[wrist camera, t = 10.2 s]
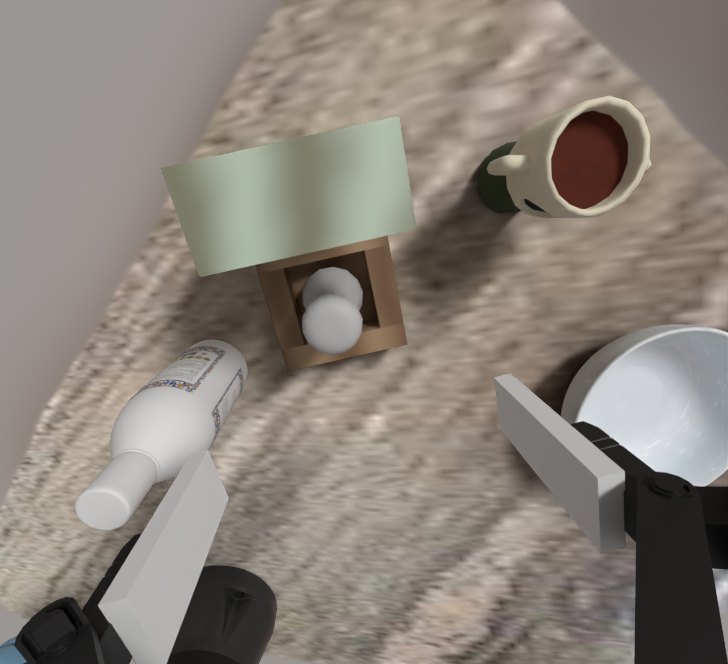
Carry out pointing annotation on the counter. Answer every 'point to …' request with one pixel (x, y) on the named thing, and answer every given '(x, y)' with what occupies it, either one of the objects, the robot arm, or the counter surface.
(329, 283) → the salt shaker
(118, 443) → the bath foam
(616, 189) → the character mug
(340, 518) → the counter surface
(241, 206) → the socket station
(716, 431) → the serving bowl
